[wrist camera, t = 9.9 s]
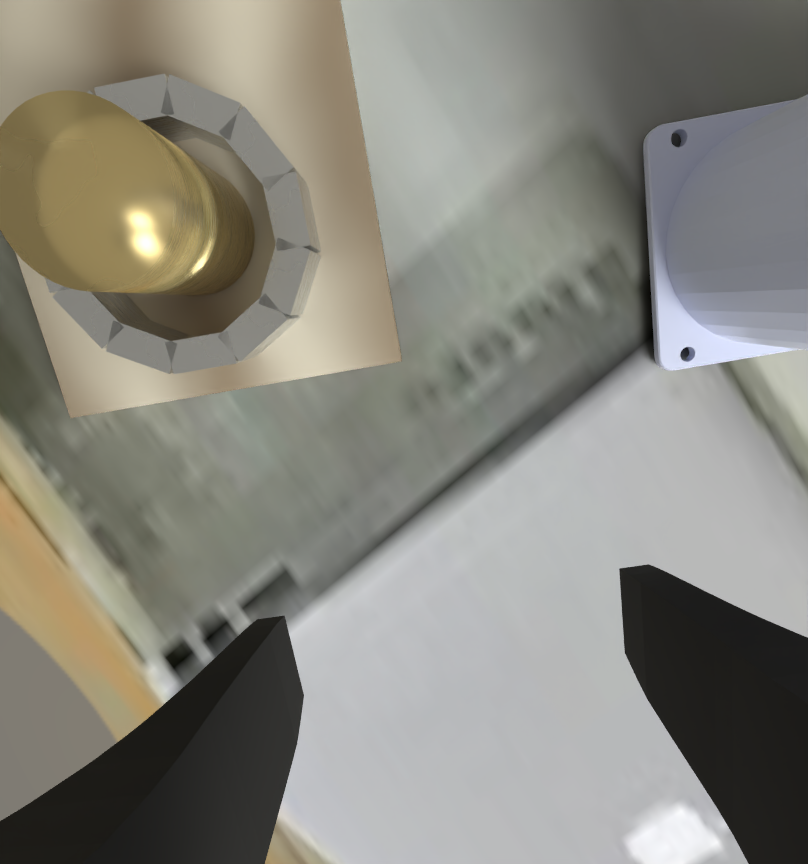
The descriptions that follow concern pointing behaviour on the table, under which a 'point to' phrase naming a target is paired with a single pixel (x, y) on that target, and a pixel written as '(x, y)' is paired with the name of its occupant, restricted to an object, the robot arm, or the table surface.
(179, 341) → the pipe sockets
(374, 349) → the board
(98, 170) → the brass knob
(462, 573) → the table surface
